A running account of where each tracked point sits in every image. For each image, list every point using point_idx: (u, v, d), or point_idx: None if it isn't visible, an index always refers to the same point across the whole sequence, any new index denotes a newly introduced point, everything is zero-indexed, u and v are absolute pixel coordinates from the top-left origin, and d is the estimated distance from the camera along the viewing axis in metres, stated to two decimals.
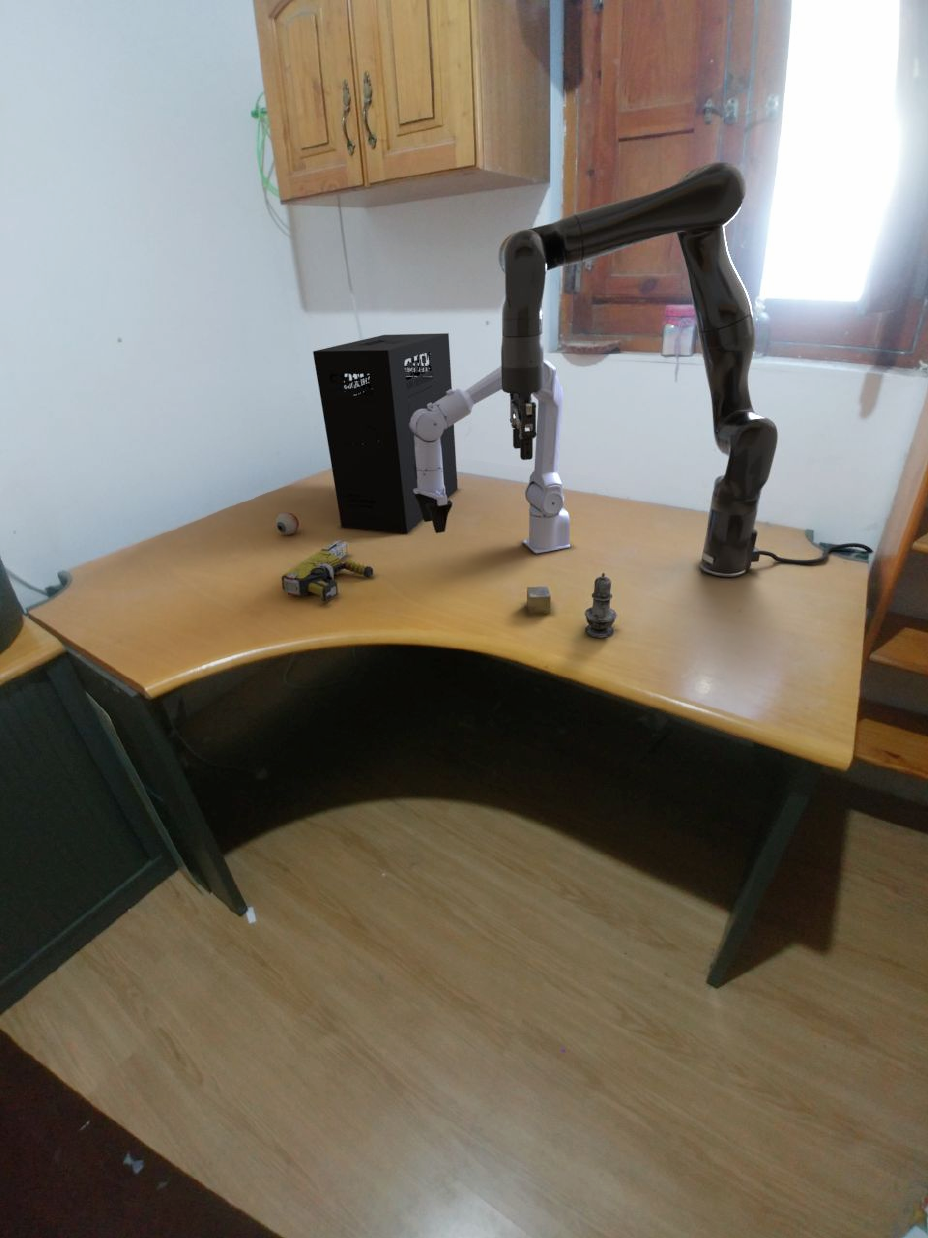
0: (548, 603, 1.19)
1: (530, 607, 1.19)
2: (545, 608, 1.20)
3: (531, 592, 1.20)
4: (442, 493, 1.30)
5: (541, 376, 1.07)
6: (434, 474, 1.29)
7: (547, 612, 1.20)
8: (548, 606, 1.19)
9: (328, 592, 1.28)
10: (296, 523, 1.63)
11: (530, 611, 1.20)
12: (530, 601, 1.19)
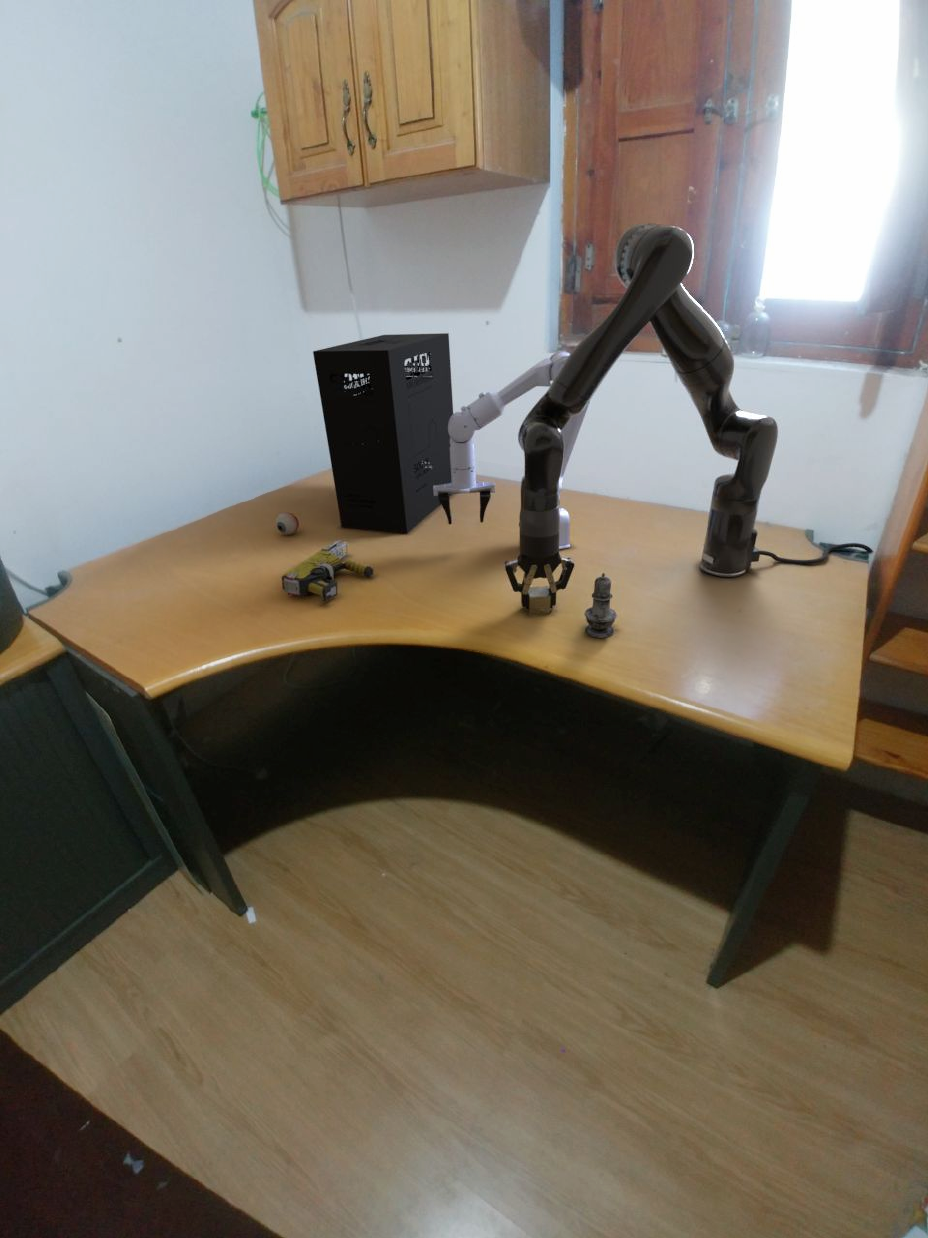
0: (548, 603, 1.19)
1: (530, 607, 1.19)
2: (545, 608, 1.20)
3: (531, 592, 1.20)
4: (484, 483, 1.43)
5: (530, 545, 1.12)
6: None
7: (547, 612, 1.20)
8: (548, 606, 1.19)
9: (328, 592, 1.28)
10: (296, 523, 1.63)
11: (530, 611, 1.20)
12: (530, 601, 1.19)
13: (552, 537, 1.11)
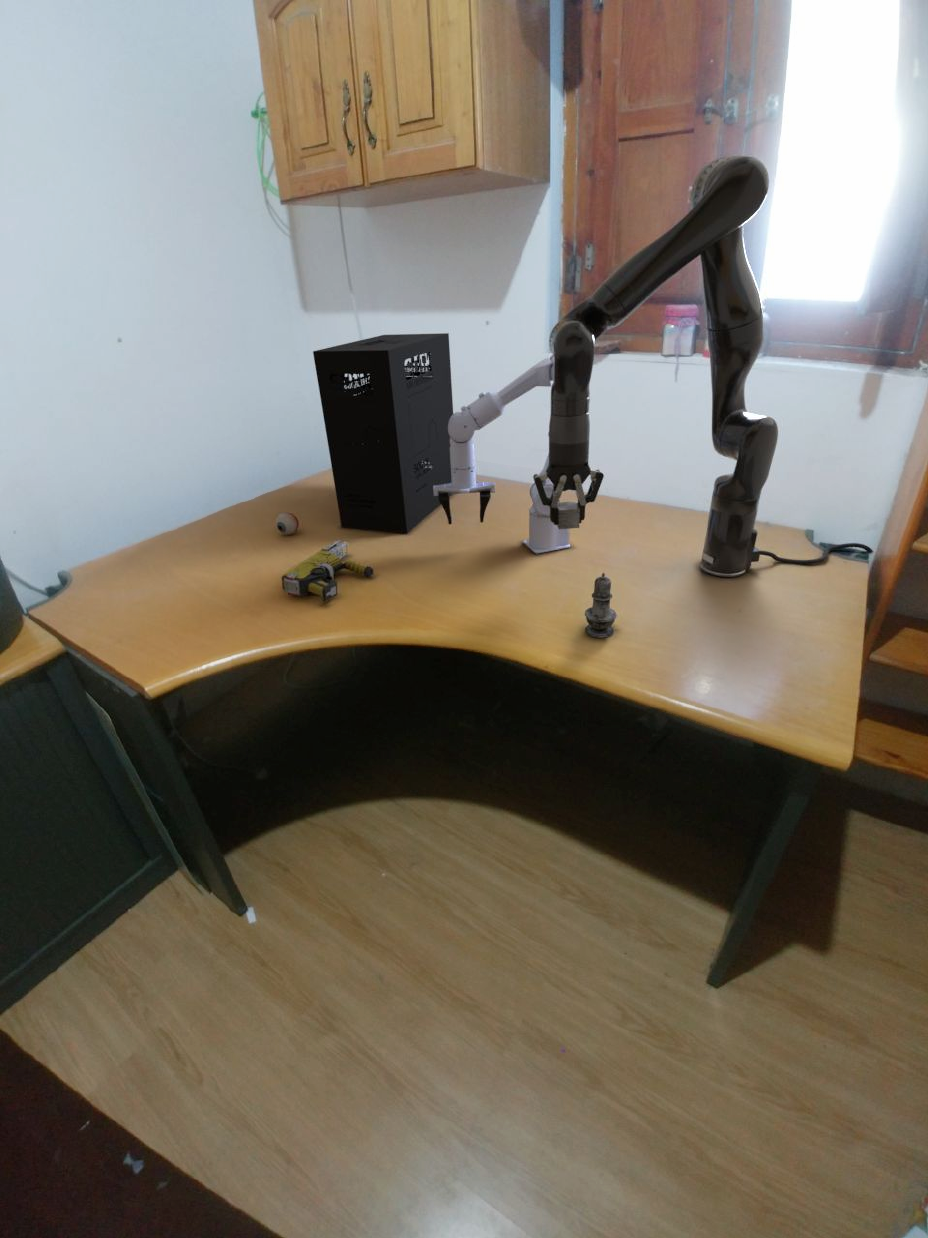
0: (577, 516, 1.19)
1: (559, 521, 1.20)
2: (574, 522, 1.20)
3: (560, 506, 1.20)
4: (484, 483, 1.43)
5: (560, 454, 1.12)
6: None
7: (576, 526, 1.20)
8: (577, 519, 1.20)
9: (328, 592, 1.28)
10: (296, 523, 1.63)
11: (559, 525, 1.20)
12: (559, 514, 1.19)
13: (582, 444, 1.11)
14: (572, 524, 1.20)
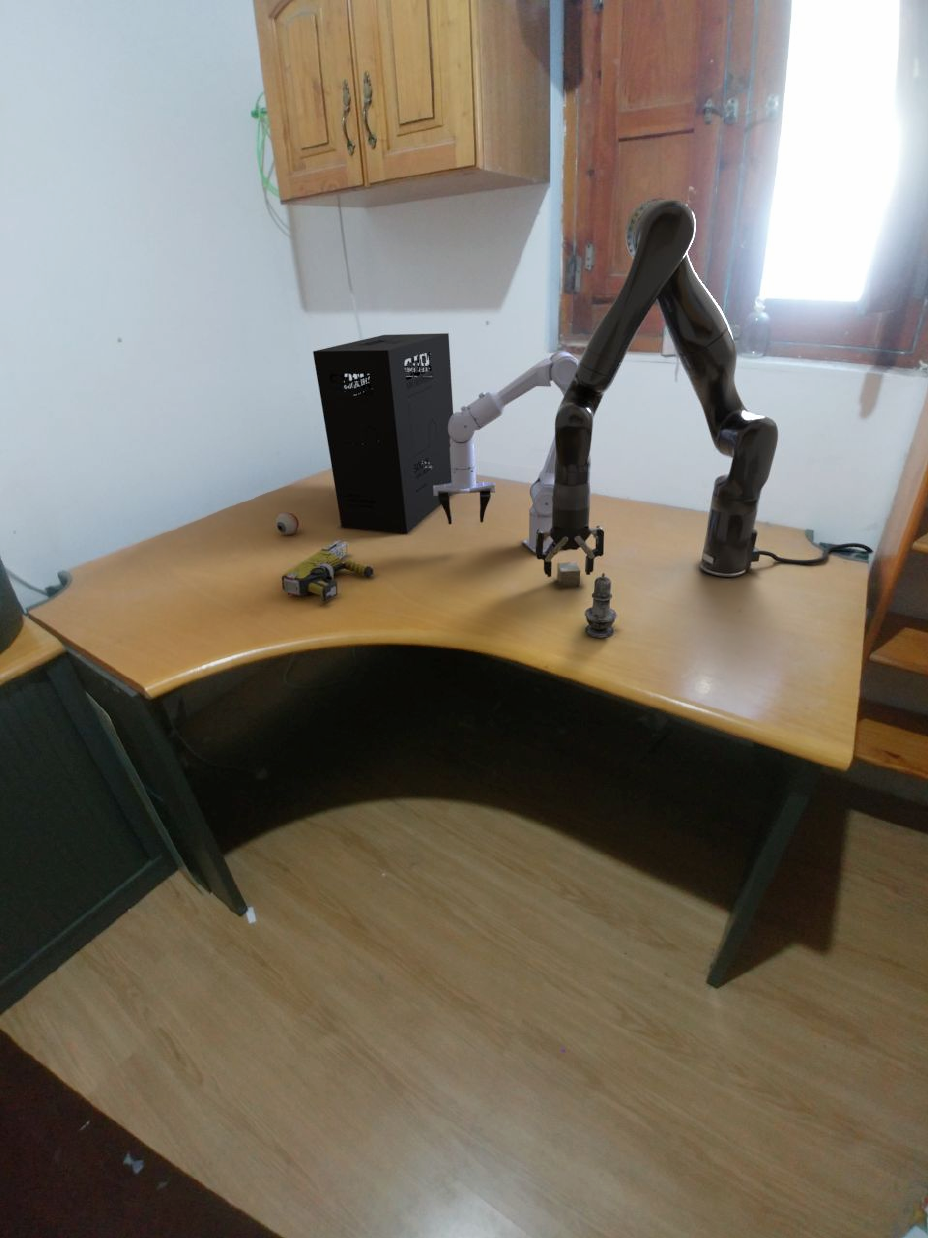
0: (578, 577, 1.28)
1: (561, 581, 1.29)
2: (575, 582, 1.29)
3: (561, 567, 1.29)
4: (484, 483, 1.43)
5: (562, 518, 1.21)
6: None
7: (577, 586, 1.29)
8: (578, 580, 1.29)
9: (328, 592, 1.28)
10: (296, 523, 1.63)
11: (561, 585, 1.29)
12: (561, 575, 1.28)
13: (583, 510, 1.20)
14: (573, 584, 1.29)
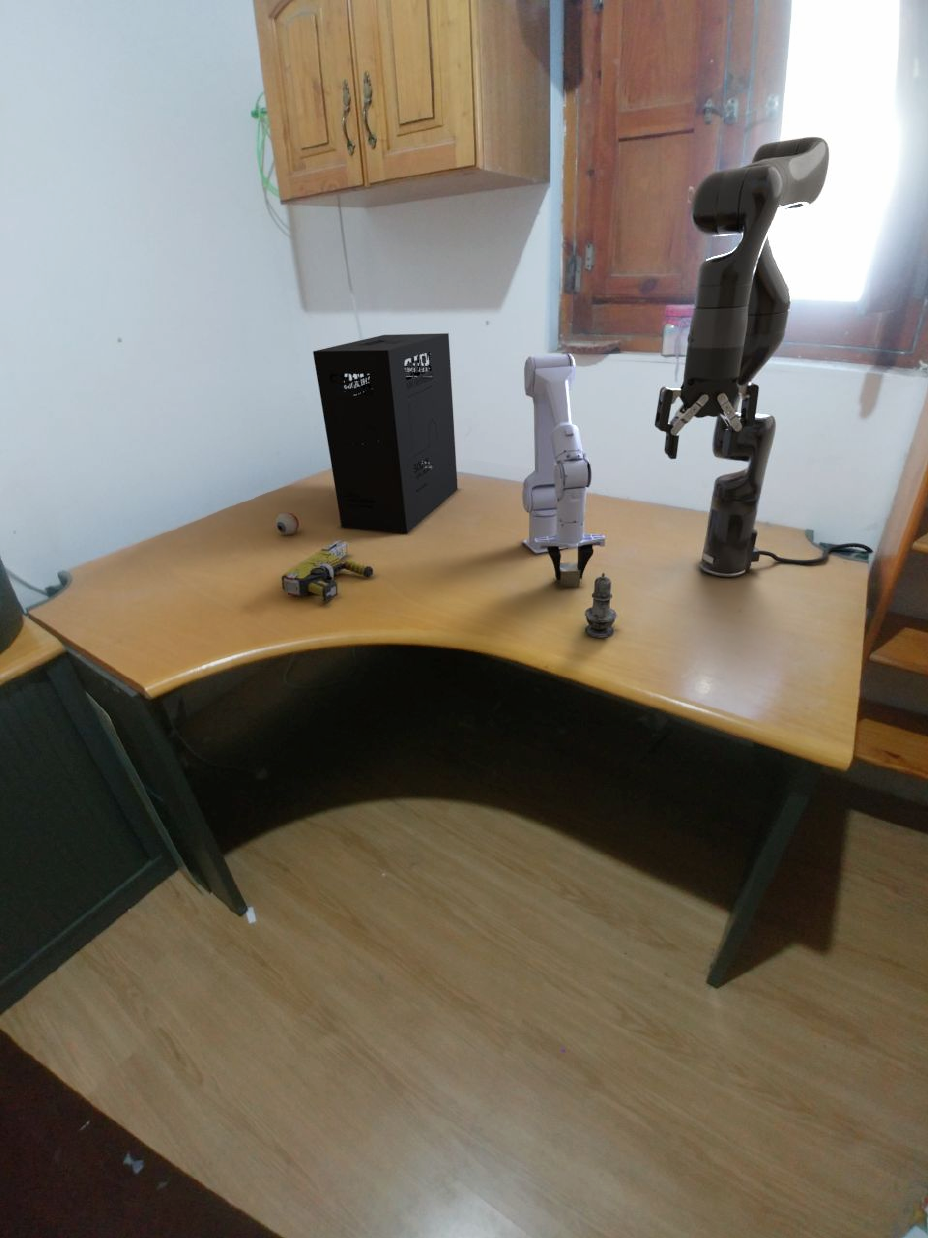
0: (578, 577, 1.28)
1: (561, 581, 1.29)
2: (575, 582, 1.29)
3: (561, 567, 1.29)
4: (591, 536, 1.27)
5: (706, 362, 0.84)
6: (584, 520, 1.24)
7: (577, 586, 1.29)
8: (578, 580, 1.29)
9: (328, 592, 1.28)
10: (296, 523, 1.63)
11: (561, 585, 1.29)
12: (561, 575, 1.28)
13: (738, 349, 0.83)
14: (573, 584, 1.29)
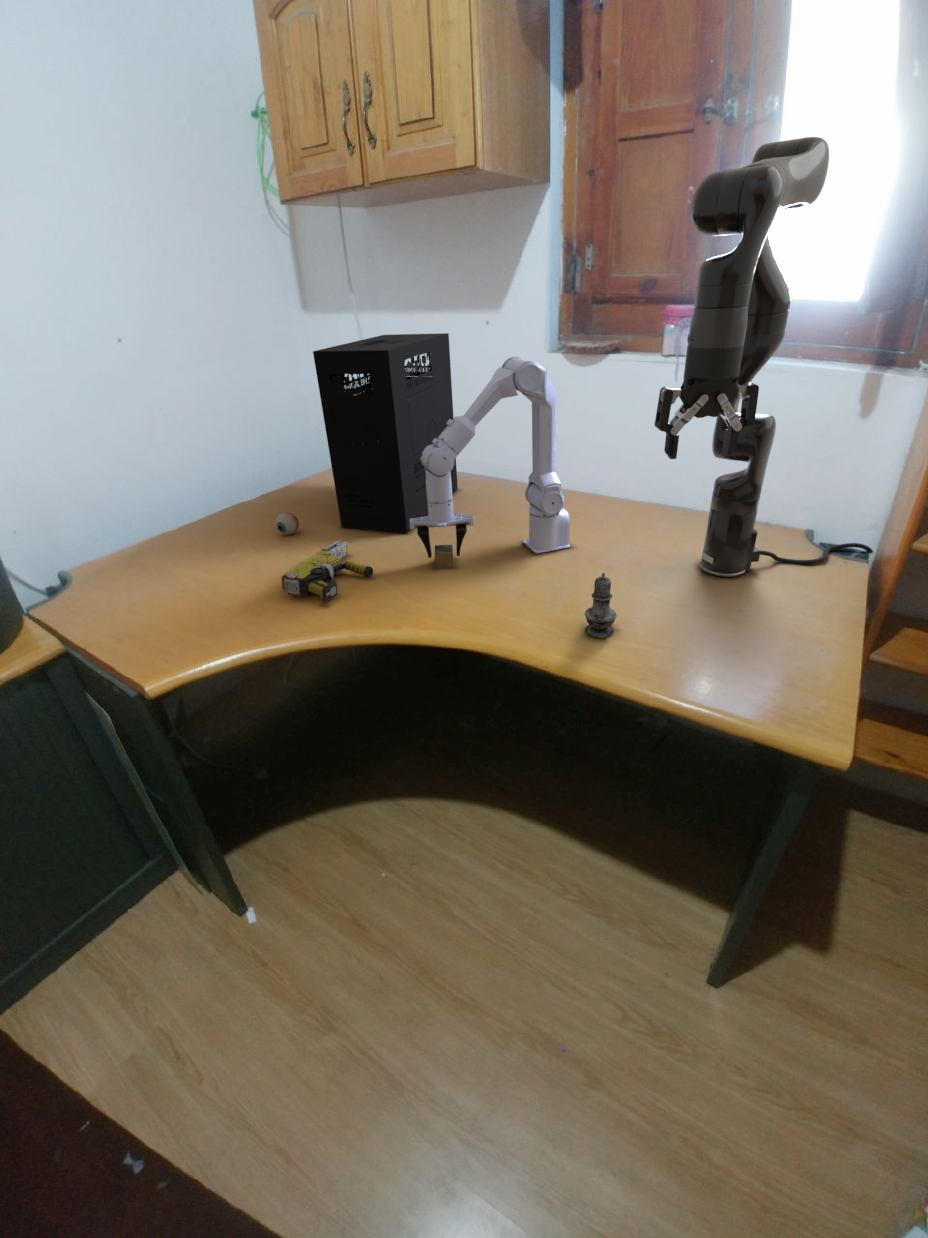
0: (451, 558, 1.40)
1: (436, 561, 1.41)
2: (448, 562, 1.41)
3: (437, 549, 1.41)
4: (462, 516, 1.38)
5: (706, 362, 0.84)
6: (452, 502, 1.36)
7: (451, 566, 1.41)
8: (451, 561, 1.41)
9: (328, 592, 1.28)
10: (296, 523, 1.63)
11: (436, 565, 1.41)
12: (435, 556, 1.40)
13: (738, 349, 0.83)
14: (447, 564, 1.41)
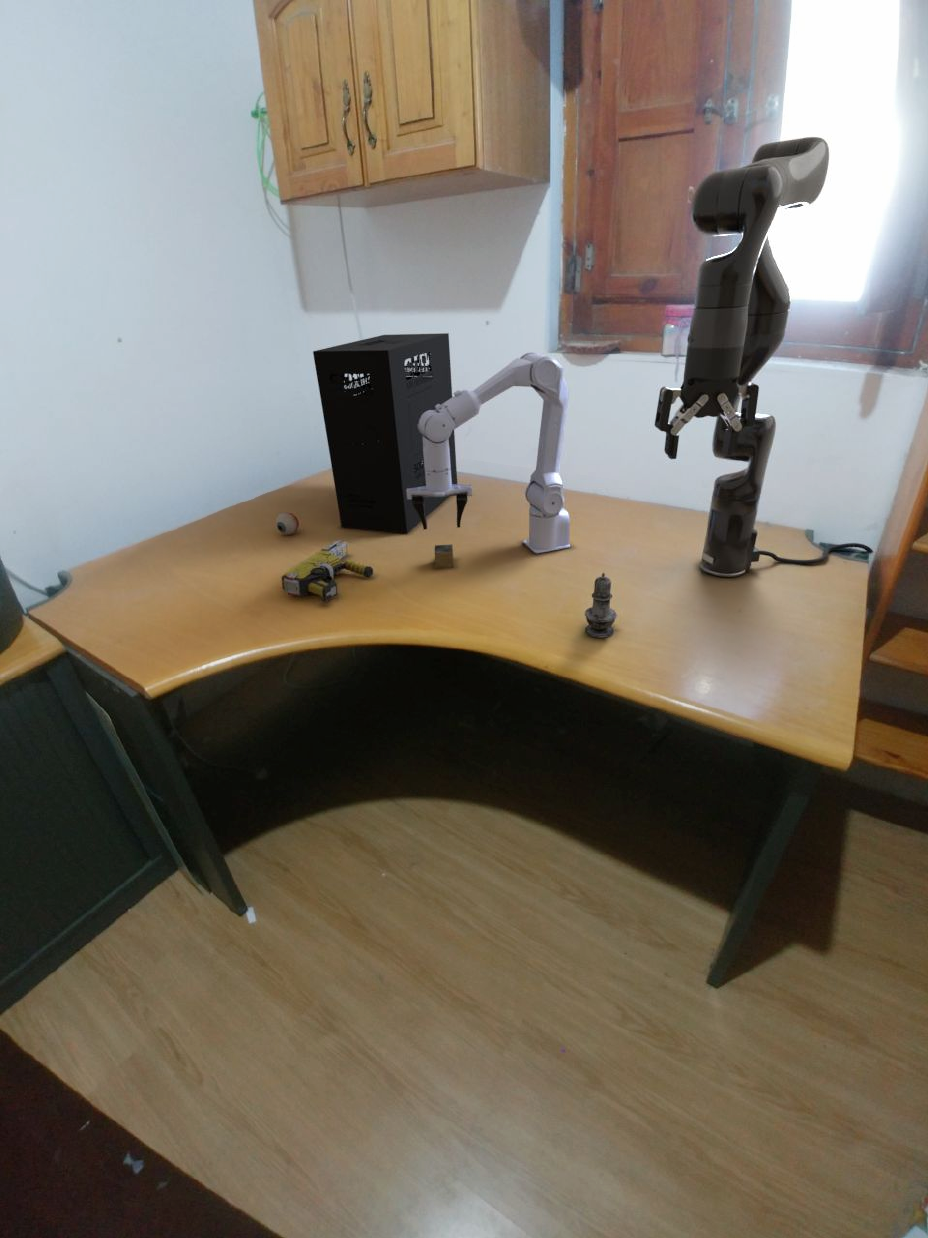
0: (451, 558, 1.40)
1: (436, 561, 1.41)
2: (448, 562, 1.41)
3: (437, 549, 1.41)
4: (460, 486, 1.35)
5: (706, 362, 0.84)
6: (450, 471, 1.32)
7: (451, 566, 1.41)
8: (451, 561, 1.41)
9: (328, 592, 1.28)
10: (296, 523, 1.63)
11: (436, 565, 1.41)
12: (435, 556, 1.40)
13: (738, 349, 0.83)
14: (447, 564, 1.41)
